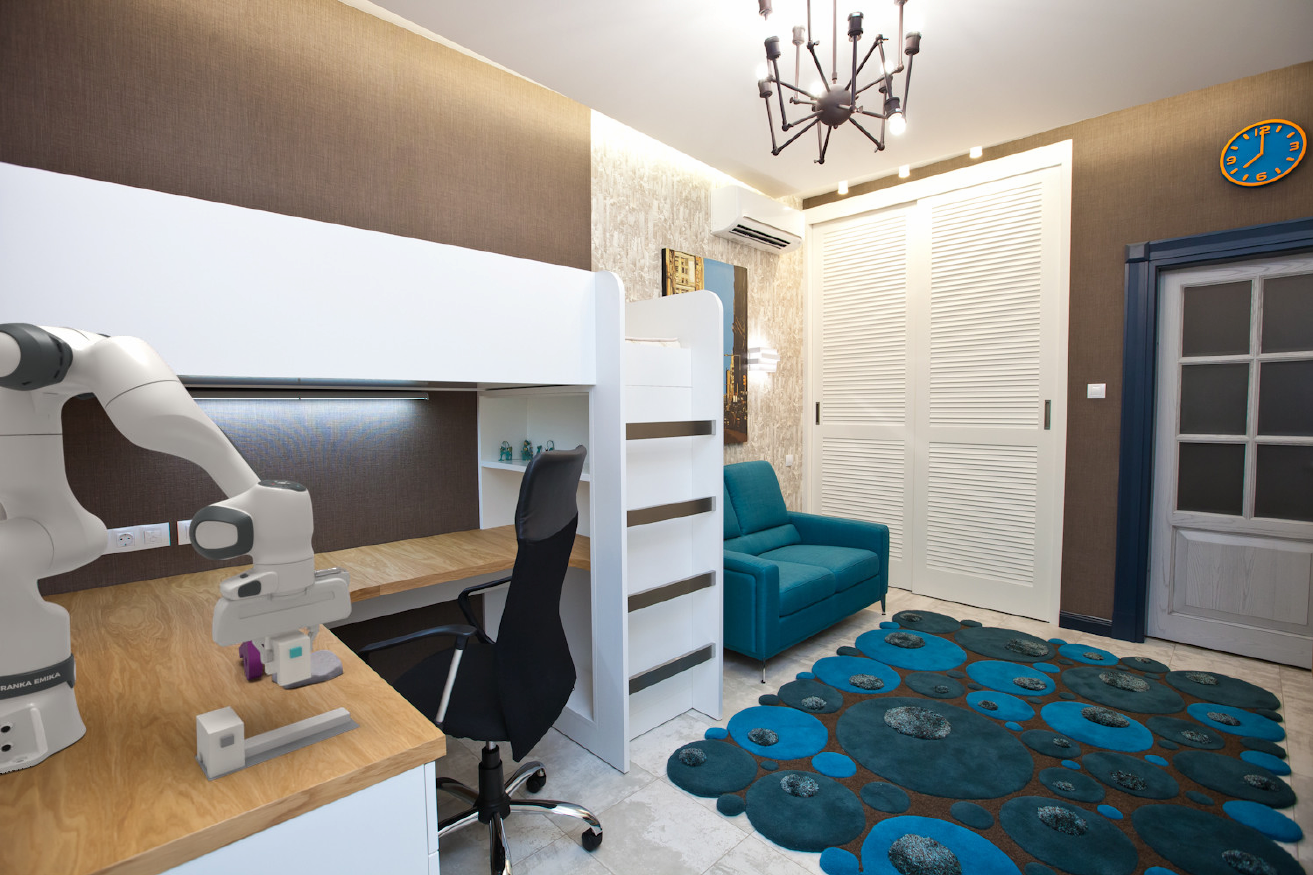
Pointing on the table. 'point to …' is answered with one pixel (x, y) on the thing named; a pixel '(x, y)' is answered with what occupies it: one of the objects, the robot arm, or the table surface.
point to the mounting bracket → (251, 660)
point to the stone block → (319, 669)
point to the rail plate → (288, 747)
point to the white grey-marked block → (220, 741)
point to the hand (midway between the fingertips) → (287, 656)
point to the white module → (289, 656)
